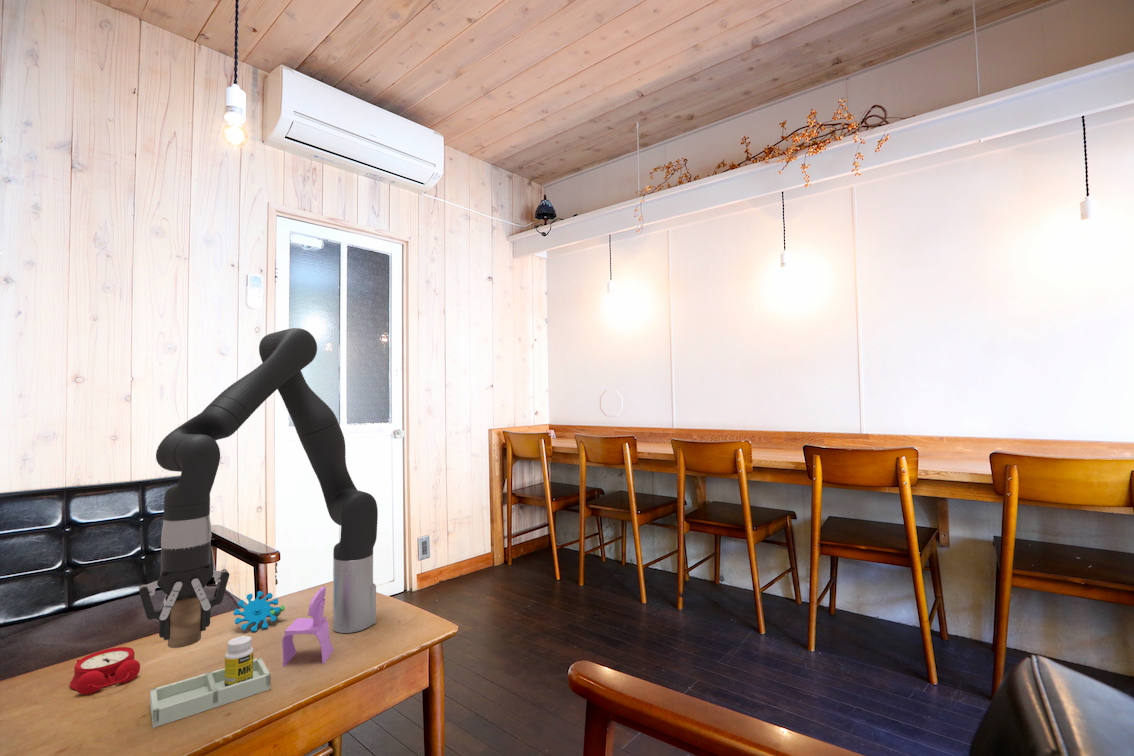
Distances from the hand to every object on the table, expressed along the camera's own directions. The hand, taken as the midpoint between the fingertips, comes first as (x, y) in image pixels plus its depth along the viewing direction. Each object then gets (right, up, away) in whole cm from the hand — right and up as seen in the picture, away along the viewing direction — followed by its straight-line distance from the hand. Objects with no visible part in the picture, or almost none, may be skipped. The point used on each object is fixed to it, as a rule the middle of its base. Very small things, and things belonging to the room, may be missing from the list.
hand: (184, 633), depth 98 cm
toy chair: (+14, -14, +17) cm, 26 cm away
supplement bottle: (+7, -13, +5) cm, 15 cm away
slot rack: (+3, -13, +2) cm, 14 cm away
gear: (-6, -15, +33) cm, 37 cm away
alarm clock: (-22, -14, +9) cm, 28 cm away
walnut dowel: (0, -1, 0) cm, 1 cm away
